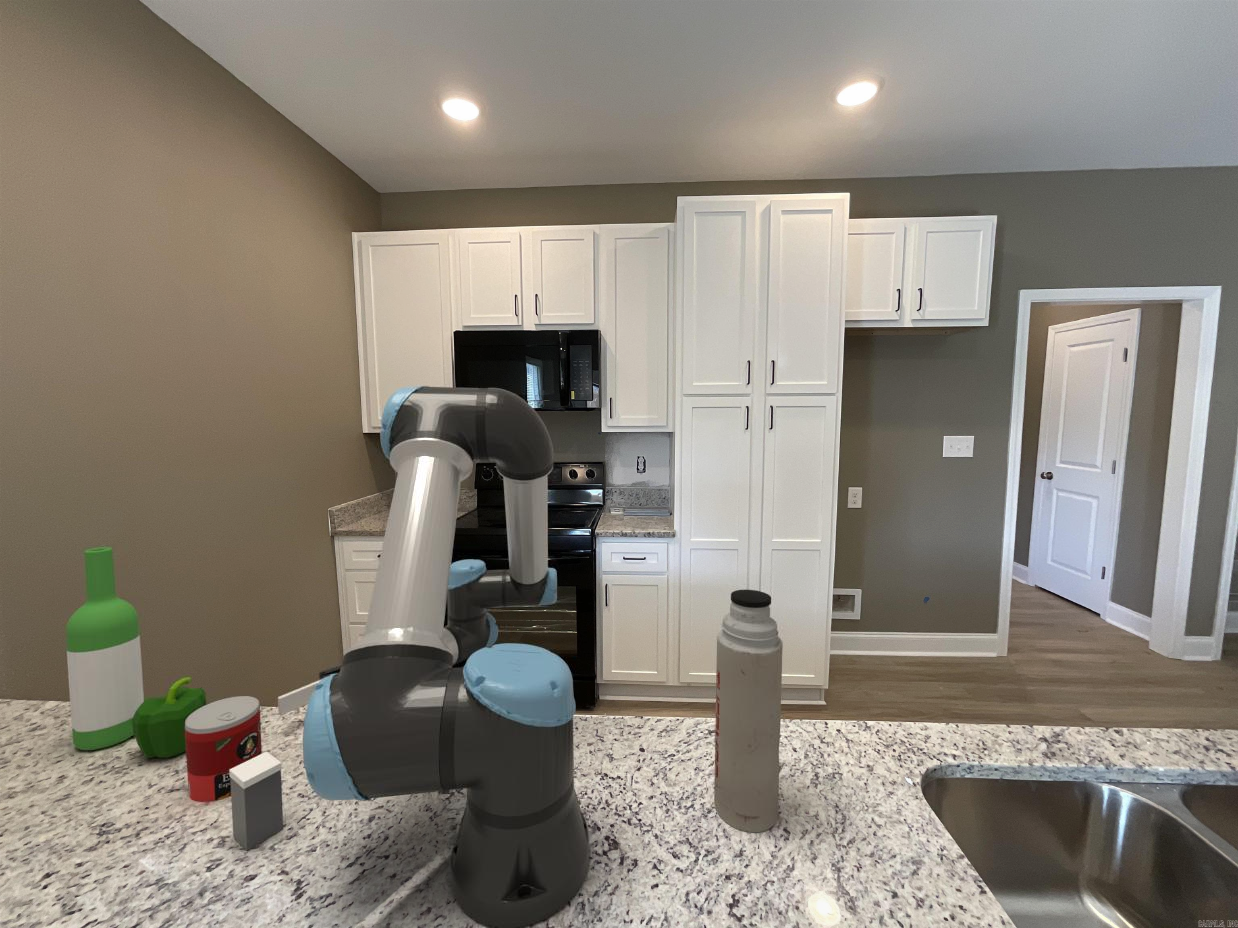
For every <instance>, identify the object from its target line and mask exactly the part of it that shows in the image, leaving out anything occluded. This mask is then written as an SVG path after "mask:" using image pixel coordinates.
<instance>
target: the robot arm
mask: <svg viewBox="0 0 1238 928" xmlns="http://www.w3.org/2000/svg"><path fill="white" fill-rule="evenodd" d="M385 403H386V404H385V405H384V407H383V412H382V415H381V420H380V424H381V430H380V433H379V435H380V445H381V446H380V447H381V448H382V452H383V455H384V456H385V457H386V459H388V460H389V464H390V466H391V467H392V469H393V470H394V471H395V472H396V473H397V476H396V481H395V485H394V489H393V495H392V500H391V504H390V508H389V514H388V518H387V523H386V526H385V527H386V529H385V533H384V536H383V542H382V547H381V552H380V556H379V561H378V566H377V569H376V576H375V581H374V585H373V590H372V593H371V594H372V595H371V599H370V604H369V609H368V612H367V613H368V614H367V616H366V617H367V618H366V622H365V626H364V632H363V636H362V638H361V639H360V640H359V641H358V642H357V643H356V644H354V645H352V646H351V647H349V648H348V649H347V650H346V651H345V652H344V655H343V658H342V663H341V665H338V666H334V667H332V668H329V669H325V670H323V671H320V672H318V680H316V681H314V682H311V683H309V684H306V685H304V686H301V687H300V688H297V689H294V690H292V691H289V692H287V693H285V694H282V695H280V696H277V710H278V711H277V714H278V715H279V716H284V715H286V714H288V713H291V712H293V711H295V710H298V709H300V708H301V707H304V706H306V705H307V707H306V710H305V714H304V715H305V717H304V722H303V730H302V731H303V732H302V755H303V758H302V759H303V766H304V770H305V773H306V779H307V781H308V784H309V786H310V788H311V789H312V791H313V792H314V793H315V794H316V796H318V797H319V798H321V799H323V800H325V801H335V802H336V801H351V800H353V801H354V800H358V801H361V802H367V801H371V799H378V798H380V799H381V798H388V797H389V798H390V797H396V796H397V797H399V796H409V795H415V794H425V793H426V794H427V793H436V792H442V791H443V792H444V791H450V790H463V789H466V805H465V808H464V811H463V815H462V817H461V821H460V824H459V829H458V833H457V834H456V837H455V839H454V841H453V846H452V850H451V856H450V883H451V885H450V886H451V890H452V894H453V896H454V900H455V901H456V903H457V904H458V906H459V908H460V909H461V910H462V912H464V913H465V914H466V915H467V916H468V917H470V918H471V919H472V920H473V921H476V922H478V923H480V924H483V925H486V926H489V927H492V928H521V927H526V926H530V925H533V924H536V923H539V922H541V921H543V920H546V919H547V918H549V917H551V916H552V915H554V914H555V913H557V912H558V911H560V910H561V909H563V908H564V907H565V906H566V905H567V904H568V903H569V902H570V901H571V899H573V897H575V895H576V894H577V892H578V891H579V890H580V888H581V886H582V885H583V883H584V881H585V878H586V876H587V873H588V870H589V864H590V832H589V827H588V823H587V821H586V818H585V816H584V813H583V811H582V810H581V805H580V801H579V797H578V794H577V792H576V790H575V778H574V777H575V774H574V773H575V765H574V761H575V759H574V758H575V757H574V749H575V748H574V716H575V714H576V700H575V697H574V684H573V683H574V681H573V675H572V672H571V670H570V668H569V665H568V664H567V663H566V662H565V660H563V658H561V657H560V656H559V655H558V654H556V653H554V652H551V651H550V650H548V649H547V648H546V649H545V648H543V647H540V646H536V645H532V644H526V643H516V642H515V643H510V642H508V643H507V642H506V643H499V644H497V643H496V644H495V642H496V641H497V640H498V635H499V627H498V625H497V624H496V619H495V618H494V616H493V615H492V614H490V613H489V612H488V611H487V609H491V608H493V609H494V608H495V609H496V608H513V607H514V608H517V607H521V608H522V607H541V606H547V605H548V606H549V605H554V604H555V603H556V602H557V600H558V577H557V575H558V574H557V573H558V572H557V570H556V569H555V568H554V567H549V565H548V564H549V562H548V561H549V559H548V557H549V551H548V550H549V549H548V548H549V547H548V545H549V542H548V541H549V540H548V535H549V534H548V532H549V531H548V526H549V524H548V518H549V517H548V515H549V514H548V513H549V512H548V497H549V496H548V491H549V490H548V486H549V485H548V484H549V483H548V475H549V474H551V472H552V471H553V469H554V447H553V442H552V439H551V436H550V434H549V431H548V429H547V427H546V425H545V423H544V421H543V420H542V418H541V417H540V415H539V414H538V413H537V411H536V410H535V409H534V408H533V407H532V406H531V405H530V403H528V402H527V401H526V400H525V399H523V398H522V397H521V396H519V395H518V394H516V393H513V392H511V391H509V390H506V389H503V388H498V387H487V388H486V387H484V388H483V387H480V388H479V387H454V386H453V387H447V386H446V387H445V386H428V385H420V386H409V387H407V386H406V387H401V388H399V389H397V390H396V391H393V393H392V394H391V395H390V396H389V398H388V400H387V401H386V402H385ZM474 462H495V466H496V467H495V468H496V471H497V472H498V474H499V475H500V476H501V477H502V478H503V491H504V493H503V494H504V505H505V506H504V508H505V521H506V533H507V534H506V535H507V536H506V537H507V551H508V563H509V565H508V566H509V569H494V570H493V569H491V570H487V567H486V563H485V562H484V561H483V560H481V559H473V558H472V559H461V560H458V561H455V562H452V558H453V549H454V541H455V533H456V523H457V515H458V507H459V497H460V489H461V482H463V481H464V480H466V479H468V478H469V477H470V475H471V474H472V472H473V468H474ZM446 608H447V625H445V626H444V624H445V618H446V617H445V616H446ZM465 660H466V663H465V665H463V666H461V667H453V666H455V665H457V664H459V663H460V662H463V661H465Z"/></svg>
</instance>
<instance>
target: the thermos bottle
mask: <svg viewBox="0 0 1238 928" xmlns="http://www.w3.org/2000/svg"><path fill="white" fill-rule="evenodd" d="M730 600H731V602H730V606H729V613H727V614H725V615H724V616H723V619H722V623H721V628H722V629H721V630H720V631H719V632H718V633H717V635H716V665H715V666H716V667H715V668H716V671H715V673H716V674H715V675H716V676H715V725H714V727H715V728H714V731H715V734H714V737H715V738H714V788H713V789H714V791H713V793H714V796H713V803H714V804H713V805H714V807H715V808H714V809H715V811H716V812H717V814H718V816H719V817H720V818H721V819H722V821H724V822H725V823H727V824H728V825H729V826H730V827H732V828H735V829H737V830H739V831H743V832H747V833H760V832H765V831H768V830H770V829H771V828H772V827H773V826H774V825H775V824H776V823H777V820H778V818H779V796H780V795H779V792H780V791H779V790H780V740H781V721H782V720H781V719H782V717H781V716H782V713H781V712H782V681H783V680H782V675H783V646H784V645H783V640H782V638H780V636H779V631H778V623H777V621H776V620H775V619H774V618H772V617H771V607H770V605H771V604H772V596H771V595H770V594H768V593H766V592H763V591H760V590H755V589H737V590H734V591H731V593H730Z"/></svg>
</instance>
